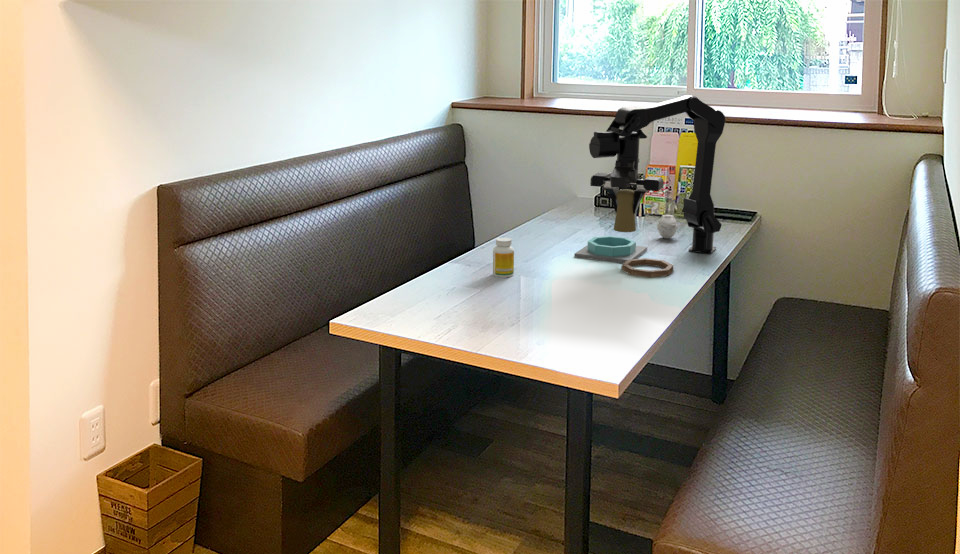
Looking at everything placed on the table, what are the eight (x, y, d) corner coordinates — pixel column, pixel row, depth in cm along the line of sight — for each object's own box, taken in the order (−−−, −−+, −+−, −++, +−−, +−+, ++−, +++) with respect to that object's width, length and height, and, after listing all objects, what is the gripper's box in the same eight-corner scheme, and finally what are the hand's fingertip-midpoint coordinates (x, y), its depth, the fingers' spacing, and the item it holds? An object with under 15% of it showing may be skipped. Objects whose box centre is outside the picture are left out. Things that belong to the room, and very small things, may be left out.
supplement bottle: (489, 273, 233) (489, 237, 230) (507, 271, 235) (508, 235, 233) (498, 279, 229) (499, 242, 226) (517, 276, 231) (517, 240, 228)
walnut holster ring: (631, 261, 244) (632, 256, 244) (676, 267, 239) (677, 261, 238) (617, 273, 234) (617, 267, 233) (664, 279, 228) (664, 273, 228)
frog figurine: (675, 235, 273) (677, 213, 271) (678, 241, 266) (679, 218, 265) (655, 235, 274) (656, 212, 272) (657, 240, 267) (658, 217, 265)
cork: (635, 232, 241) (637, 192, 238) (613, 231, 242) (614, 191, 239) (636, 227, 247) (637, 188, 244) (613, 226, 248) (615, 187, 245)
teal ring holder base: (593, 244, 263) (594, 232, 262) (647, 250, 256) (647, 238, 255) (574, 257, 249) (574, 244, 248) (630, 263, 242) (630, 251, 241)
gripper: (584, 158, 236) (582, 216, 240) (654, 162, 228) (651, 222, 232) (597, 152, 245) (596, 208, 250) (665, 156, 238) (662, 214, 242)
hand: (625, 213), depth 243 cm, fingers closed on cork, 4 cm apart
